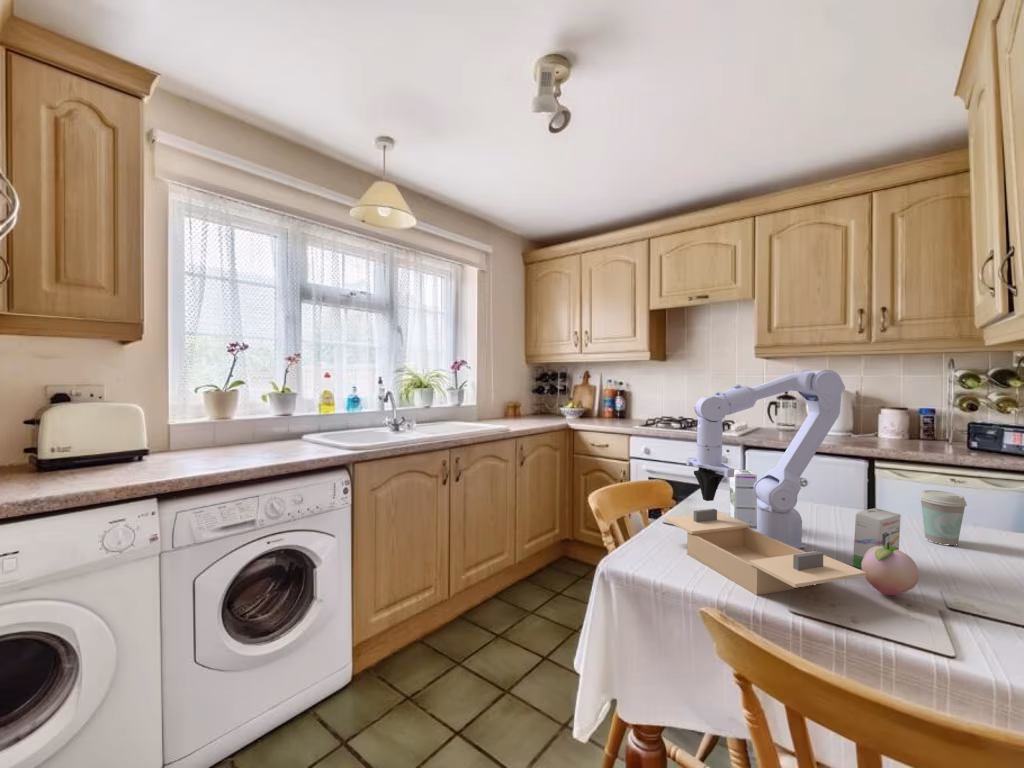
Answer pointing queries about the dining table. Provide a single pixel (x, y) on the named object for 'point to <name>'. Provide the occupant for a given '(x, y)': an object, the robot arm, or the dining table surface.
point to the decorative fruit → (890, 570)
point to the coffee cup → (942, 515)
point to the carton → (740, 557)
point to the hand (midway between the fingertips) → (708, 500)
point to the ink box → (874, 531)
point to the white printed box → (743, 497)
